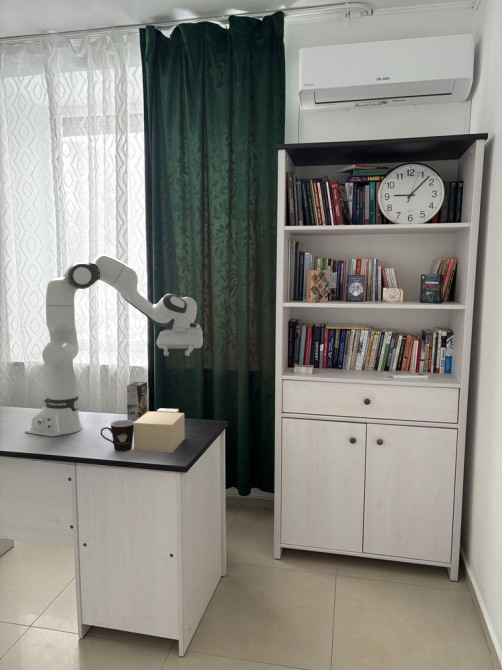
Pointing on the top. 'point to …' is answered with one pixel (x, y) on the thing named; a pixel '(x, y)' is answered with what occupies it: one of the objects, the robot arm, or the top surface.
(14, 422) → the top surface
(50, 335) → the robot arm
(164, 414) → the flap
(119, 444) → the coffee mug
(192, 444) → the top surface
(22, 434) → the top surface
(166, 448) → the carton
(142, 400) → the coffee box
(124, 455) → the top surface
